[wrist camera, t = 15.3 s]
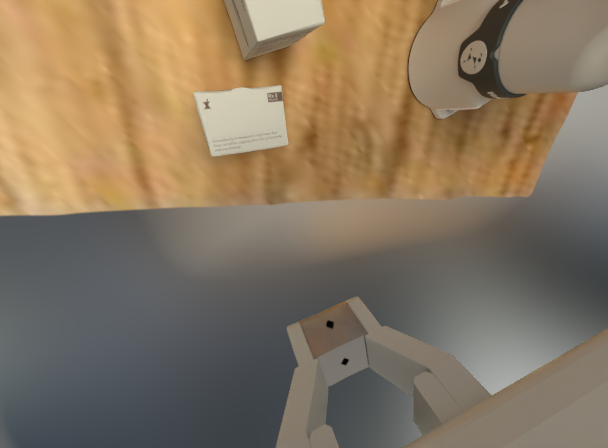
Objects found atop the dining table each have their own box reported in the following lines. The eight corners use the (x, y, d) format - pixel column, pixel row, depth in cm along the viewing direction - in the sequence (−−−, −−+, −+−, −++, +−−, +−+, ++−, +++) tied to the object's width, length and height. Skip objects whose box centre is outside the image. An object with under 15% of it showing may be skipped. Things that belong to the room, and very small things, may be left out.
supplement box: (218, -7, 30) (222, -70, 19) (275, -22, 31) (308, -88, 20) (242, 62, 34) (256, 43, 23) (292, 47, 35) (328, 22, 24)
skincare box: (208, 142, 36) (206, 162, 24) (197, 96, 34) (187, 91, 21) (264, 134, 39) (290, 149, 26) (258, 90, 36) (283, 83, 23)
